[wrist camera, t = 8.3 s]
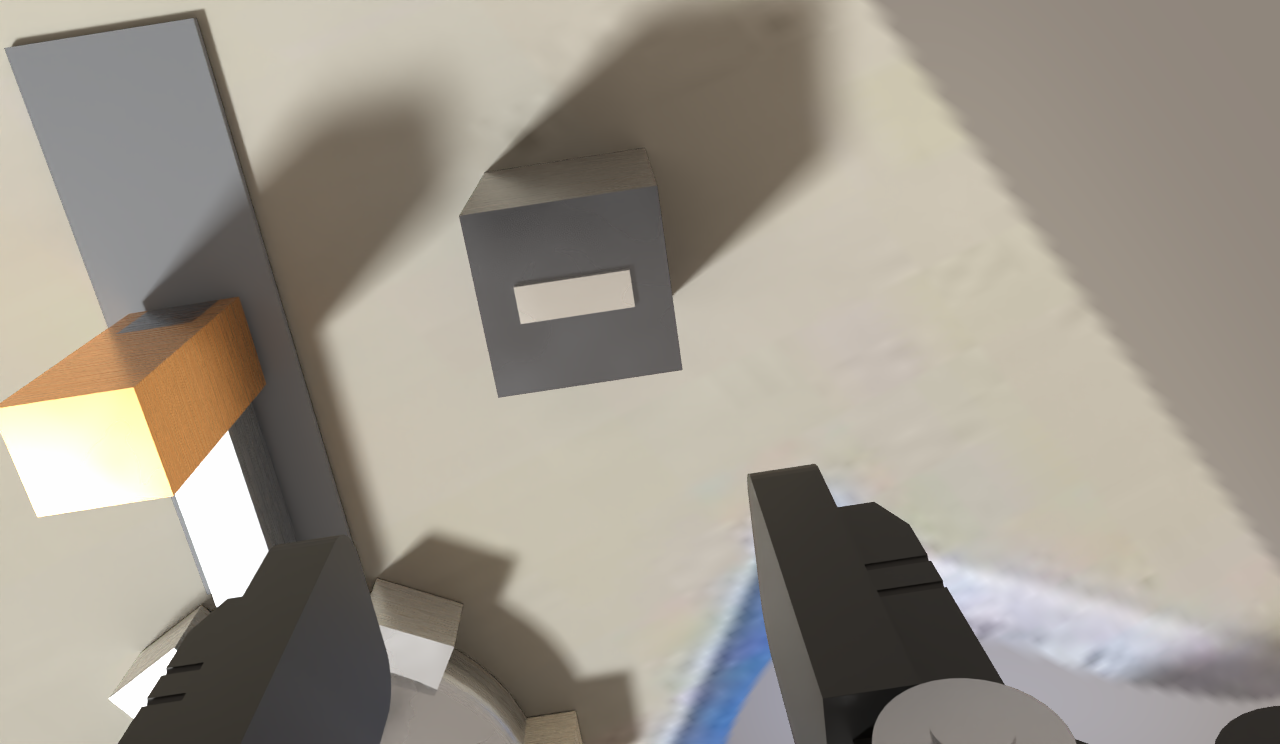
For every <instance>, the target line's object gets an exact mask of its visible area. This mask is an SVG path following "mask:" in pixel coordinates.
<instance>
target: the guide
mask: <svg viewBox="0 0 1280 744" xmlns="http://www.w3.org/2000/svg"><path fill="white" fill-rule="evenodd" d="M4 49H5V51H6V54H7V57H8V60H9V62H10V65H11V68H12V70H13V73H14V76H15V78H16V81H17V84H18V86H19V89H20V92H21V95H22V97H23V100H24V103H25V105H26V108H27V111H28V113H29V116H30V119H31V121H32V124H33V127H34V130H35V132H36V135H37V138H38V140H39V143H40V146H41V148H42V151H43V154H44V156H45V159H46V162H47V165H48V167H49V170H50V173H51V175H52V178H53V181H54V183H55V186H56V189H57V191H58V194H59V197H60V200H61V202H62V205H63V208H64V210H65V213H66V216H67V218H68V221H69V224H70V226H71V229H72V232H73V235H74V237H75V240H76V243H77V245H78V248H79V251H80V253H81V256H82V259H83V262H84V264H85V267H86V270H87V272H88V275H89V278H90V280H91V283H92V286H93V288H94V291H95V294H96V297H97V299H98V302H99V305H100V307H101V310H102V313H103V315H104V318H105V321H106V323H107V326H108V328H109V327H111V326H112V325H114V324H115V323H116V322H118V321H119V320H121V319H122V318H124V317H125V316H126V315H128V314H130V313H137V312H143V311H150V310H156V309H163V308H169V307H175V306H182V305H188V304H195V303H201V302H207V301H214V300H220V299H227V298H233V297H239V299H240V302H241V305H242V308H243V311H244V314H245V318H246V321H247V324H248V327H249V330H250V334H251V337H252V340H253V343H254V346H255V349H256V353H257V356H258V359H259V362H260V365H261V368H262V372H263V375H264V378H265V381H266V385H265V386H264V388H263V389H262V390H261V391H260V393H259V394H258V395H257V396H256V397H255V399H254V400H253V401H252V403H253V406H254V409H255V412H256V415H257V418H258V421H259V424H260V427H261V431H262V434H263V437H264V440H265V443H266V446H267V449H268V452H269V455H270V458H271V462H272V465H273V468H274V471H275V474H276V477H277V480H278V483H279V486H280V489H281V493H282V496H283V499H284V502H285V505H286V508H287V511H288V514H289V517H290V520H291V524H292V527H293V530H294V533H295V536H296V539H297V541H304V540H310V539H317V538H323V537H330V536H337V535H346V536H348V537H349V538H350V539H351V540H352V538H351V535H350V531H349V528H348V525H347V521H346V518H345V515H344V511H343V508H342V505H341V501H340V498H339V494H338V491H337V488H336V484H335V481H334V478H333V474H332V471H331V468H330V464H329V461H328V458H327V454H326V451H325V447H324V444H323V441H322V437H321V434H320V431H319V427H318V424H317V421H316V417H315V414H314V411H313V407H312V404H311V401H310V397H309V394H308V390H307V387H306V384H305V380H304V377H303V374H302V370H301V367H300V364H299V360H298V357H297V354H296V350H295V347H294V344H293V340H292V337H291V333H290V330H289V327H288V323H287V320H286V317H285V313H284V310H283V307H282V303H281V300H280V297H279V293H278V290H277V286H276V283H275V280H274V276H273V273H272V270H271V266H270V263H269V260H268V256H267V253H266V250H265V246H264V243H263V240H262V236H261V233H260V229H259V226H258V223H257V219H256V216H255V213H254V209H253V206H252V203H251V199H250V196H249V193H248V189H247V186H246V183H245V179H244V176H243V172H242V169H241V166H240V162H239V159H238V156H237V152H236V149H235V146H234V142H233V139H232V136H231V132H230V129H229V125H228V122H227V119H226V115H225V112H224V109H223V105H222V102H221V99H220V95H219V92H218V89H217V85H216V82H215V79H214V75H213V72H212V68H211V65H210V62H209V58H208V55H207V52H206V48H205V45H204V42H203V38H202V35H201V32H200V28H199V25H198V22H197V18H191V19H184V20H178V21H172V22H166V23H159V24H153V25H147V26H140V27H134V28H128V29H122V30H115V31H109V32H103V33H96V34H90V35H84V36H78V37H71V38H65V39H59V40H52V41H46V42H40V43H34V44H27V45H21V46H15V47H8V48H4ZM171 498H172V501H173V504H174V507H175V509H176V512H177V515H178V517H179V520H180V523H181V525H182V528H183V531H184V533H185V536H186V539H187V542H188V544H189V547H190V550H191V552H192V555H193V558H194V560H195V563H196V566H197V568H198V571H199V574H200V577H201V579H202V582H203V585H204V587H205V590H206V593H207V594H212V593H211V591H210V588H209V585H208V582H207V580H206V577H205V574H204V572H203V569H202V566H201V563H200V561H199V558H198V555H197V553H196V550H195V547H194V545H193V542H192V539H191V536H190V534H189V531H188V528H187V526H186V523H185V520H184V517H183V515H182V512H181V509H180V507H179V504H178V501H177V498H176V496H175V495H174V496H171ZM352 542H353V541H352Z"/></svg>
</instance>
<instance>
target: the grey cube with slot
mask: <svg viewBox="0 0 1280 744" xmlns="http://www.w3.org/2000/svg"><path fill="white" fill-rule="evenodd" d="M459 217H460V222H461V226H462V231H463V236H464V240H465V245H466V250H467V254H468V259H469V263H470V268H471V273H472V277H473V282H474V287H475V291H476V296H477V301H478V305H479V310H480V314H481V319H482V324H483V328H484V333H485V338H486V342H487V347H488V351H489V356H490V361H491V365H492V370H493V375H494V379H495V384H496V389H497V393H498V398H499V397H506V396H513V395H519V394H526V393H532V392H539V391H546V390H552V389H559V388H566V387H572V386H579V385H586V384H592V383H599V382H606V381H612V380H619V379H625V378H632V377H639V376H645V375H652V374H659V373H665V372H672V371H679V370H682V363H681V356H680V348H679V341H678V334H677V327H676V319H675V312H674V305H673V297H672V290H671V283H670V276H669V268H668V261H667V254H666V246H665V239H664V232H663V225H662V217H661V210H660V203H659V195H658V188H657V184H656V181H655V177H654V174H653V171H652V168H651V165H650V162H649V159H648V156H647V153H646V150H645V148H640V149H634V150H627V151H621V152H614V153H608V154H601V155H595V156H588V157H582V158H575V159H569V160H562V161H556V162H549V163H543V164H536V165H530V166H523V167H517V168H510V169H504V170H497V171H490V172H485V173H484V175H483V176H482V178H481V180H480V182H479V183H478V185H477V187H476V188H475V190H474V192H473V193H472V195H471V197H470V198H469V200H468V202H467V203H466V205H465V207H464V208H463V210H462V212H461V214H460V215H459Z"/></svg>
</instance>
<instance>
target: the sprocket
mask: <svg viewBox="0 0 1280 744" xmlns="http://www.w3.org/2000/svg"><path fill="white" fill-rule="evenodd" d="M371 600H372V603H373V606H374V610H375V613H376V616H377V620H378V623H379V627H380V630H381V633H382V637H383V640H384V644H385V647H386V651H387V654H388V659H389V665H390V674H391V702H390V709H389V714H388V718H387V721H386V725H385V728H384V732H383V735H382V739H381V742H380V744H583V743H582V738H581V734H580V729H579V724H578V720H577V715H576V711H571V712H565V713H558V714H551V715H545V716H538V717H532V718H526V717H525V715H524V713H523V711H522V710H521V709H520V707H519V706H518V704H517V703H516V702H515V700H514V699H513V697H512V696H511V694H510V693H509V692H508V691H507V690H506V689H505V688H504V687H503V686H502V685H501V684H500V683H499V682H498V681H497V680H496V679H495V677H493V676H492V675H491V674H490V673H488V672H487V671H486V670H485V669H484V668H482V667H481V666H480V665H479V664H477V663H476V662H475V661H473V660H472V659H470V658H468V657H467V656H465V655H464V654H462V653H460V652H459V651H457V650H456V649H454V645H455V641H456V636H457V631H458V626H459V622H460V617H461V612H462V607H463V604H462V603H458V602H455V601H452V600H448V599H445V598H442V597H438V596H435V595H431V594H428V593H425V592H421V591H418V590H415V589H411V588H408V587H404V586H401V585H398V584H394V583H391V582H388V581H384V580H381V579H378V578H377V579H376V582H375V585H374V587H373V590H372V593H371ZM210 613H211V612H209V611H208V610H207V609H206V608H205V607H203V606H202V605H201V606H200V607H198V608H197V609H196V610H195V611H193V612H192V613H191V614H190V615H188V616H187V617H186V618H184V619H183V620H182V621H181V622H179V623H178V624H177V625H175V626H174V627H173V628H172V629H170V630H169V631H168V632H167V633H165V634H164V635H163V636H161V637H160V638H159V639H158V640H156V641H155V642H154V643H153V644H151V645H150V646H149V647H147V648H146V649H145V650H144V651H142V652H141V653H140V654H139V656H138V657H137V659H136V660H135V662H134V663H133V664H132V666H131V667H130V669H129V670H128V672H127V673H126V675H125V676H124V678H123V679H122V681H121V682H120V684H119V685H118V686H117V688H116V689H115V691H114V692H113V694H112V695H111V697H110V698H109V700H111V701H112V702H113V703H115V704H116V705H117V706H118V707H120V708H121V709H122V710H124V711H125V712H126V713H127V714H129V715H130V716H131V717H133V718H135V716H136V714H137V713H138V711H139V710H140V708H141V707H142V706H147V697H148V695H149V694H150V692H151V691H152V689H153V688H154V686H155V684H156V683H157V681H158V680H159V678H160V676H161V675H166V667H167V665H168V664H169V662H170V661H171V659H172V657H173V656H174V654H175V653H176V651H177V650H178V648H179V646H180V645H181V643H182V642H183V640H184V638H185V637H186V635H187V634H188V632H189V631H190V630H192V629H193V628H194V627H195V626H196V625H197V624H199V623H200V622H201V621H202V620H203V619H204V618H205V617H207V616H208V615H209V614H210Z"/></svg>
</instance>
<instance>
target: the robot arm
mask: <svg viewBox="0 0 1280 744" xmlns="http://www.w3.org/2000/svg"><path fill="white" fill-rule="evenodd" d="M747 483H748V495H749V504H750V512H751V521H752V529H753V538H754V546H755V555H756V563H757V572H758V580H759V588H760V597H761V604H762V611H763V617H764V623H765V628H766V634H767V639H768V644H769V648H770V653H771V657H772V660H773V664H774V668H775V671H776V675H777V679H778V683H779V686H780V690H781V694H782V698H783V701H784V705H785V709H786V712H787V716H788V720H789V723H790V727H791V731H792V734H793V738H794V742H795V744H1087V743H1084V742H1082V741H1079V740H1076V739H1075V738H1074V736H1073V735H1072V733H1071V731H1070V730H1069V728H1068V726H1067V725H1066V724H1065V723H1064V722H1063V721H1062V719H1061V718H1060V717H1059V716H1058V715H1057V714H1056V713H1055V712H1054V711H1052V710H1051V709H1050V708H1049V707H1048V706H1046V705H1045V704H1044V703H1042V702H1040V701H1039V700H1037V699H1035V698H1034V697H1032V696H1031V695H1028V694H1026V693H1024V692H1022V691H1020V690H1018V689H1015V688H1012V687H1009V686H1006V685H1005V684H1004V683H1003V681H1002V679H1001V678H1000V676H999V674H998V673H997V671H996V669H995V668H994V666H993V664H992V663H991V661H990V659H989V658H988V656H987V654H986V653H985V651H984V649H983V647H982V646H981V644H980V642H979V641H978V639H977V637H976V636H975V634H974V632H973V631H972V629H971V627H970V626H969V624H968V622H967V621H966V619H965V617H964V616H963V614H962V612H961V611H960V609H959V607H958V605H957V604H956V602H955V600H954V599H953V597H952V595H951V594H950V592H949V590H948V589H947V587H944V586H943V580H942V579H941V577H940V575H939V574H938V572H937V570H936V569H935V567H934V565H933V563H932V562H931V561H928V556H927V553H926V552H925V550H924V548H923V547H922V545H921V543H920V542H919V540H918V538H917V537H916V535H915V533H914V532H913V530H912V528H911V526H910V525H909V524H908V523H906V522H905V521H903V520H901V519H900V518H898V517H897V516H895V515H894V514H892V513H891V512H889V511H888V510H886V509H884V508H883V507H881V506H880V505H878V504H877V503H875V502H870V503H864V504H857V505H850V506H844V507H837V506H836V504H835V502H834V500H833V497H832V495H831V493H830V491H829V489H828V487H827V485H826V483H825V481H824V478H823V476H822V474H821V472H820V470H819V468H818V466H817V465H816V464H811V465H804V466H798V467H791V468H784V469H778V470H771V471H765V472H758V473H751V474H748V477H747ZM390 702H391V674H390V665H389V659H388V654H387V651H386V647H385V644H384V640H383V637H382V633H381V630H380V627H379V623H378V620H377V616H376V613H375V610H374V606H373V603H372V600H371V596H370V593H369V589H368V586H367V583H366V579H365V576H364V573H363V569H362V566H361V562H360V559H359V556H358V553H357V550H356V548H355V546H354V544H353V542H352V540H351V539H350V538H349V537H348V536H346V535H337V536H330V537H323V538H317V539H310V540H304V541H297V542H290V543H284V544H277V545H274V546H273V547H272V548H271V549H270V550H269V551H268V553H267V555H266V556H265V558H264V560H263V562H262V563H261V565H260V567H259V569H258V570H257V572H256V574H255V575H254V577H253V579H252V581H251V582H250V584H249V586H248V588H247V589H246V591H245V593H244V594H243V596H241V597H235V598H228V599H226V600H225V601H224V602H223V603H222V604H221V605H219V606H218V607H217V608H216V609H215V610H214V611H212V612H211V613H210V614H209V615H208V616H207V617H205V618H204V619H203V620H202V621H201V622H200V623H199V624H197V625H196V626H195V627H194V628H193V629H192V630H190V631H189V632H188V634H187V635H186V637H185V638H184V640H183V642H182V643H181V645H180V646H179V648H178V650H177V651H176V653H175V654H174V656H173V657H172V659H171V661H170V662H169V664H168V665H167V667H166V675H161V676H160V678H159V680H158V681H157V683H156V684H155V686H154V688H153V689H152V691H151V692H150V694H149V695H148V697H147V706H142V707H141V708H140V710H139V711H138V713H137V714H136V716H135V718H134V719H133V721H132V722H131V724H130V726H129V727H128V729H127V730H126V732H125V733H124V735H123V737H122V738H121V740H120V741H119V743H118V744H380V742H381V739H382V735H383V732H384V728H385V725H386V721H387V718H388V714H389V709H390ZM1215 744H1280V706H1273V707H1267V708H1261V709H1256V710H1254V711H1251V712H1248V713H1245V714H1242V715H1240V716H1239V717H1237V718H1235V719H1234V720H1232V721H1230V722H1229V723H1228V724H1227V725H1226V726H1225V727H1224V728H1223V729H1222V730H1221V732H1220V734H1219V735H1218V737H1217V739H1216V741H1215Z"/></svg>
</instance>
